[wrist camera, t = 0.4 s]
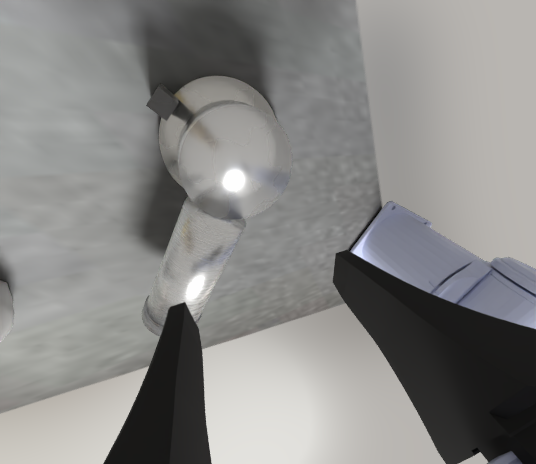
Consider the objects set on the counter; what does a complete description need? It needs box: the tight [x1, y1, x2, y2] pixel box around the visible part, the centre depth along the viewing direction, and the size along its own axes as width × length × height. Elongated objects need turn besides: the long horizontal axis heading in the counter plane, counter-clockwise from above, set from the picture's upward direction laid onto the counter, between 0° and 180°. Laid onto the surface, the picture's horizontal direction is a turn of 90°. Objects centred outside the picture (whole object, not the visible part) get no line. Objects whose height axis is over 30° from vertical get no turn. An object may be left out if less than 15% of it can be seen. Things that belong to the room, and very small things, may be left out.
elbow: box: [142, 100, 293, 336], centre depth 14 cm, size 15×6×4 cm, turn 151°
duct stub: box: [146, 76, 277, 188], centre depth 14 cm, size 9×8×4 cm
